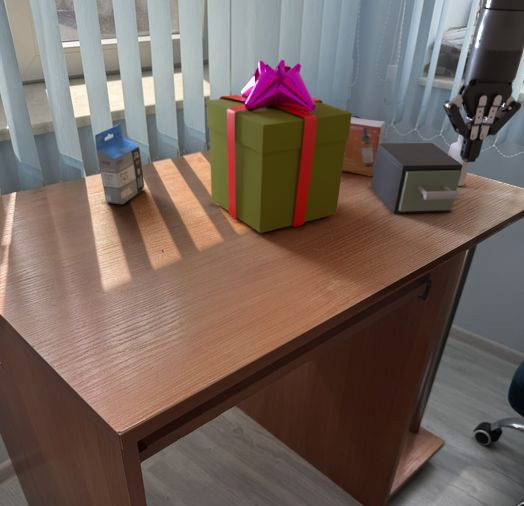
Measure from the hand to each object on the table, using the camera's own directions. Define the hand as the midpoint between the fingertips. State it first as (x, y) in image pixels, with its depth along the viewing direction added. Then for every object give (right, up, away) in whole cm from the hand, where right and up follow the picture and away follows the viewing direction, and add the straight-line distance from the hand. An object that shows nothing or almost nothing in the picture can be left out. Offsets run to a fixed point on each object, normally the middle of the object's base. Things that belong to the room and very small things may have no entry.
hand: (468, 160), depth 89 cm
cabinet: (-5, -2, +17) cm, 18 cm away
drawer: (-5, -4, +13) cm, 14 cm away
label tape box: (-62, -2, +13) cm, 63 cm away
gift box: (-33, -6, +10) cm, 35 cm away
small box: (-13, +8, +30) cm, 34 cm away
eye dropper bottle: (+7, +4, +26) cm, 27 cm away
